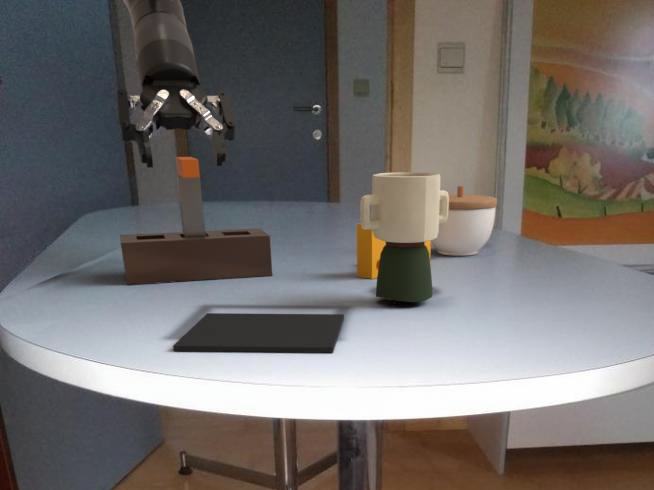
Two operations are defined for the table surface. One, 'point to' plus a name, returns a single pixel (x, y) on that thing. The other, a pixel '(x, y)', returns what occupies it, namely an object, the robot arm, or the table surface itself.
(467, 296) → the table surface
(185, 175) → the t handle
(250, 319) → the mat
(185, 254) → the organizer
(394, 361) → the table surface
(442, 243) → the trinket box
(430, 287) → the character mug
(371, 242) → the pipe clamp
